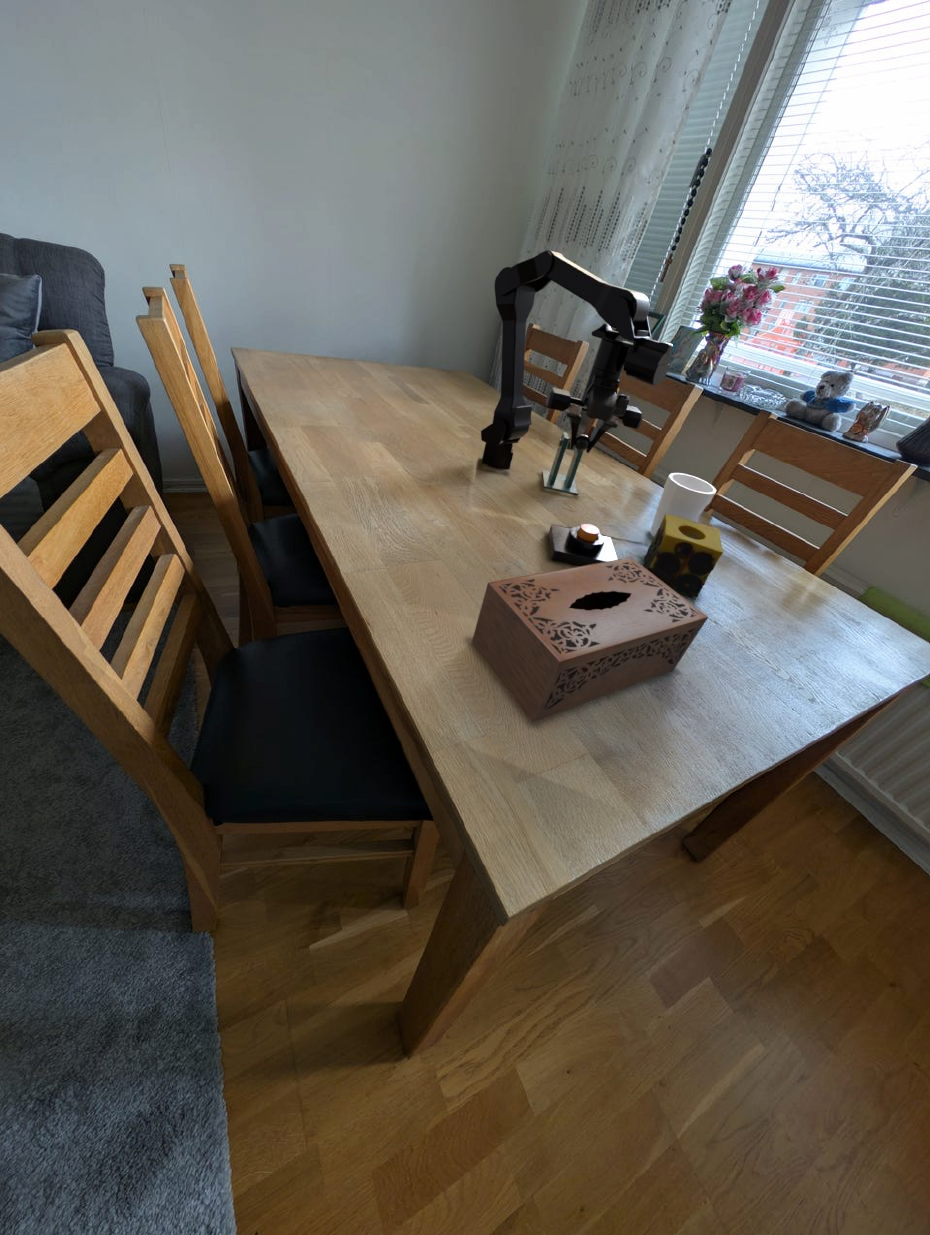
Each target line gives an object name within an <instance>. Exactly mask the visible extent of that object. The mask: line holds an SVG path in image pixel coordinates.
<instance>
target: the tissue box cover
mask: <svg viewBox="0 0 930 1235" xmlns="http://www.w3.org/2000/svg"><path fill="white" fill-rule="evenodd" d="M480 607H481V608H480V610H479V614H478V618H477V621H476V625H475V629H474V632H473V636H472V640H471V643H472V645H473V646H474V647H475V649H476V650H477V651H478V653H479V654H480V655H481V657H482V658H483V659H484V660H485V662H486V663H487V664H488V666H489V667H490V668H491V670H492V671H493V672H494V674H495V675H496V676H497V678H498V679H499V680H500V681H501V683H502V684H503V685H504V686H505V689H507V690H508V692H509V693H510V694H511V696H512V697H513V698H514V700H515V702H516V703H518V705H519V706H520V708H521V709H522V710H523V711H524V712H525V714H526V716H528V718H529V719H530V720H531V722H532V723H535V722H538V721H540V720H544V719H545V718H548V717H551V716H553V715H556V714H559V713H562V712H564V711H567V710H570V709H573V708H575V707H579V706H581V705H584V704H587V703H589V702H591V701H594V700H597V699H600V698H603V697H605V696H608V695H611V694H613V693H615V692H619V691H622V690H624V689H627V688H630V687H632V686H636V685H638V684H641V683H643V682H646V681H649V680H651V679H654V678H656V677H657V678H658V677H659V676H662V675H664V674H667V673H670V672H674V670H675V669H676V668H677V666H678V664H679V663H680V661H681V660H682V658H683V656H684V655H685V654H686V653H687V651H688V649H689V648H690V646H691V645H692V643H693V641H694V640H695V639H696V637H697V635H698V634H699V633H700V631H701V630H702V628H703V627H704V624H706V622H707V620H708V619H709V616H708V615H707V614H705V613H704V612H703V611H701V610H700V609H699V608H698V607H697V606H695V605H694V604H692V603H691V602H690V601H689V600H687V599H686V598H685V597H683V595H682V594H680V593H677V592H675V591H674V590H673V589H672V588H670V587H669V586H668V585H666V584H665V583H664V582H663V581H661V580H660V579H659V578H657V577H656V576H655V575H653V574H652V573H651V572H650V571H648V570H647V569H646V568H644V567H643V565H642V564H641V563H639V562H638V561H636V560H635V559H634V558H633V557H625V558H624V557H623V558H620V559H619V558H618V560H613V561H607V562H601V563H596V564H590V565H584V566H573V567H568V568H561V569H557V570H550V571H546V572H539V573H534V574H528V575H523V576H516V577H512V578H511V577H510V578H506V579H499V580H495V581H494V580H493V581H489V582H487V585H486V589H485V592H484V596H483V599H482V603H481V606H480Z"/></svg>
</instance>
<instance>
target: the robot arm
mask: <svg viewBox="0 0 930 1235" xmlns="http://www.w3.org/2000/svg"><path fill="white" fill-rule="evenodd" d="M551 282H553V283H555V284H557V285H558V286H560V287H562V288H563V289H565V290H567V291H568V292H570V293H572V294H573V295H575V296H576V297H579V298H580V299H581V300H583V301H584V302H586V303H588V304H589V305H590V306H591V307H593V309H594V310H595V311H596V313H597V315H598V316H599V318H601V319H602V320H603V321H604V322H605V323H603V324H602V325H600V326H599V327H598V328H596V329H594V330H592V331H591V336H592V337H596V338H598V339H600V341H599V345H598V347H597V352H596V354H595V358H594V359H593V362H592V366H591V369H590V372H589V375H588V377H587V380H586V384H585V388H584V391H583V393H582V397H581V398H577V397H574V396H571V392H570V391H569V390H567V389H566V390H565V389H562V388H557V387H553V386H552V387H551V388H550V389H548V390H547V391H548V392H547V394H546V398H545V404H546V408H548V409H551V410H555V411H559V412H564V413H565V416H566V418H569V425H570V426H569V432H570V434H569V437H570V448H571V449H573V447H574V444H575V441H576V437H577V436H578V432H579V426H580V423H581V421H582V418H583V417H582V415H581V413H582V412H583V411H584V412H585V414H586V416H587V418H589V419H593V420H595V419H596V420H597V421H596V423H595V425H594V428H593V431H592V433H591V436H590V437H589V439H590V445H589V447H588V448H587V449H586V450H585V453H586V454H589V453H590V452H591V450H592V449H593V448H594V447H595V445H596V444H597V443H598V441H599V440H600V439H601V438H602V436H604V435H605V433H606V432H608V431H609V430H611V429H617V428H618V427H619V426H618V422H619V420H620V421H621V422H622V424H623V426H624V427H626V428H630V429H631V428H632V429H636V430H639V429H640V428H641V425H642V422H643V418H644V416H643V413H642V412H641V411H640V409H639V408H638V407H637V406H632V405H629V403H630V401H631V400H630V398H631V397H630V396H629V395H626V394H622V393H619V394H618V389H619V387H620V383H621V381H620V380H621V378H622V374H623V372H625V376H626V377H627V378H630V379H632V380H635V381H638V382H641V383H644V384H646V385H650V386H652V387H655V388H656V387H657V386H658V387H659V385H660V384H661V383H662V382H663V381H664V379H665V377H666V376H667V374H668V372H669V370H670V367H671V365H670V363H671V361H672V353H671V352H672V349H673V347H674V345H673V344H672V343H669V342H664V341H659V340H656V339H653V338H652V333H651V327H650V322H649V313H650V299H649V297H648V296H647V295H646V294H645V293H643V292H640V291H636V290H633V289H629V288H626V287H623V286H618V285H615V284H611V283H609V282H607V281H605V280H603V279H602V278H600V277H598V276H596V275H595V274H593V273H591V272H590V271H588V270H586V269H584V268H583V267H581V266H579V265H578V264H576V263H575V262H572V261H571V260H569V259H568V258H565V257H564V255H563V254H562V253H560V252H557V251H553V250H549V249H546V250H543V251H541V252H539V253H538V254H537V255H535V256H534V257H531V258H528V259H526V260H524V261H521V262H518V263H516V264H514V265H512V266H505V267H504V268H502V269H501V270H500V271H499V272H498V274H497V275H496V276H495V279H494V284H493V286H494V298H495V306H496V309H497V311H498V314H499V316H500V318H501V323H502V324H501V326H502V331H501V369H500V397H499V399H498V402H497V404H496V406H495V408H494V412H493V417H492V423H491V424H489V425H487V426H486V427H485V428H483V429H482V430H480V440H481V441H482V442H484V443H485V444H484V448H483V453H482V458H481V464H483V465H486V466H487V467H489V468H493V469H498V470H501V469H503V470H510V468H511V464H512V460H513V456H514V449H513V447H514V446H513V444H519V441H521V438H524V437H525V435H526V434H527V433H528V432H529V430H530V426H532V423H533V422H532V412H533V407H532V405H531V404H529V405H527V404H526V401H525V399H524V378H525V357H526V356H525V353H526V334H527V331H526V330H527V320H528V318H529V316H530V314H531V312H532V309H533V307H534V305H535V304H534V303H535V298H536V294H537V293H540V292H541V291H543V290H544V289H545V288H547V286H548V285H549V284H550V283H551ZM613 329H616V330H613Z"/></svg>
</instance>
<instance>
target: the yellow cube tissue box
mask: <svg viewBox="0 0 930 1235" xmlns="http://www.w3.org/2000/svg"><path fill="white" fill-rule="evenodd" d="M651 540H652V541H651V542H650V544H649V546H648V548H647V552H646V553H645V555H644V557H643V559H644V560H643V565H642V566H643V567H644V568H646V569H647V570H648V571H650V572H651V573H652V574H653V575H655V576H656V577H657V578H659V579H660V580H661V581H663V582H664V583H665V584H666V585H668V586H669V587H670V588H672V589H673V590H674V591H675V592H677V593H678V594H680V595H682V596H686V597H689V598H692V599H697V598H698V597H699V595H700V592H701V591H702V590H703V587H704V586H705V585H706V582H707V581H708V578H709V576H710V575H711V573H712V571H714V569H715V567H716V565H717V563H718V561H719V560H720V558H721V557H722V555H723V554H724V548H723V545H722V538H721V530H720V529H719V528H716V527H713V526H710V525H706V524H703V523H700V522H696V521H695V522H693V521H690V520H687V519H684V518H680V517H677V516H674V515H670V514H665V516H664V518H663V521H662V523H661V525H660V528H659V529H658V531H657V533H656V535H655V536H654V537H653V539H651Z"/></svg>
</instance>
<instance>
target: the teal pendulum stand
mask: <svg viewBox="0 0 930 1235" xmlns="http://www.w3.org/2000/svg"><path fill="white" fill-rule="evenodd" d="M568 440H569V434H568V432H566V431H562V434H561V437H560V438H559V440H558V444H557V445H558V447H557V450H556V453H555V456H554V460H553V463H552V465H551V468H550V471H548V470H544V469H543V470H542V473H541V474H542V480H543V488H545V489H549V490H554V491H558V492H563V493H566V494H572V495H576V496H578V495H579V492H578V487H577V484H576V480H575V477H576V474H577V471H578V468H579V465H580V462H581V459H582V456H583V453H584V452H585V450H583V451H580V450H577V451H576V452H573V455H572V458H571V460H570V464H569V466H568V470H567V473H566V474H561V473H559V471H560V468H561V464H562V461H563V458H564V455H565V452H566V450H565V449H566V446H567V443H568Z"/></svg>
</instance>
